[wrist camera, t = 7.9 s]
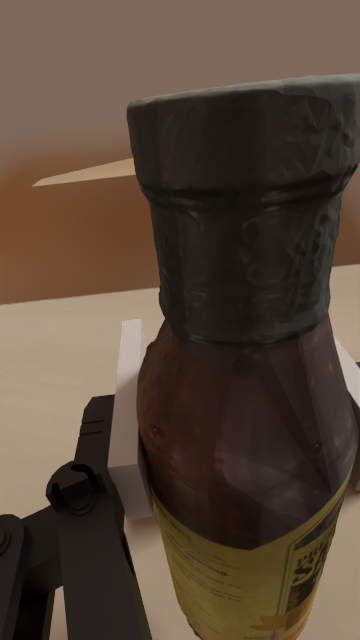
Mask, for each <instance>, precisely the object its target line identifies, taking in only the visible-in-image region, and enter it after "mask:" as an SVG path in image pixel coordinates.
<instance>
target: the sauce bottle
mask: <svg viewBox="0 0 360 640" xmlns="http://www.w3.org/2000/svg"><path fill="white" fill-rule="evenodd" d="M127 122H128V127H129V135H130V143H131V150H132V154H133V158H134V165H135V172H136V177H137V180H138V182H139V185H140V188H141V191H142V193H143V194H144V195H145V197H146V198H147V200H148V202H149V205H150V210H151V219H152V225H153V232H154V242H155V247H156V251H157V260H158V266H159V275H160V283H161V285H160V292H159V304H160V307H161V310H162V312H163V315H164V317H165V320H164V322H163V324H162V326H161V328H160V330H159V333H158V335H157V338H156V339H155V341H153V342H151V343H150V344H149V345H148V347H147V348H146V354H145V357H144V359H143V363H142V365H141V368H140V371H139V374H138V381H137V397H136V411H137V420H138V425H139V430H140V435H141V439H142V441H143V446H144V451H145V454H146V458H147V463H148V481H149V485H150V489H151V493H152V499H153V503H154V507H155V511H156V515H157V519H158V523H159V528H160V532H161V536H162V540H163V544H164V548H165V552H166V556H167V560H168V565H169V569H170V573H171V577H172V580H173V584H174V589H175V593H176V596H177V600H178V603H179V605H180V607H181V610H182V611H183V613H184V615H185V616H186V618H187V621H188V623H189V625H190V626H191V628H192V629H193V631H194V633H195V635H196V636H198V637H199V638H200V639H201V640H296V638H297V637H298V636H299V634H300V633H301V632H302V630H303V628H304V626H305V624H306V622H307V620H308V617H309V614H310V611H311V608H312V604H313V601H314V598H315V594H316V591H317V587H318V584H319V580H320V577H321V575H322V572H323V567H324V564H325V560H326V557H327V554H328V552H329V548H330V546H331V542H332V539H333V536H334V534H335V527H336V523H337V519H338V516H339V512H340V509H341V506H342V503H343V499H344V494H345V491H346V489H347V487H348V484H349V479H350V474H351V470H352V467H353V463H354V460H355V455H356V451H357V446H358V426H357V422H356V418H355V415H354V411H353V408H352V404H351V400H350V397H349V393H348V390H347V386H346V382H345V378H344V375H343V371H342V367H341V364H340V360H339V356H338V353H337V349H336V345H335V341H334V336H333V332H332V327H331V323H330V318H329V313H328V309H329V304H330V298H331V297H330V287H329V279H330V273H331V268H332V261H333V253H334V247H335V242H336V239H337V236H338V230H339V222H340V209H341V196H342V193H343V191H344V189H345V187H346V185H347V184H348V182H349V180H350V179H351V177H352V175H353V174H354V172H355V170H356V169H357V167H358V164H359V162H360V73H351V74H344V75H326V76H313V75H310V76H307V77H291V78H287V79H282V80H271V81H263V82H255V83H244V84H236V85H230V86H225V87H215V88H205V89H198V90H189V91H186V92H182V93H171V94H167V95H158V96H153V97H149V98H142V99H139V100H135V101H132V102H131V103H129V105H128V107H127Z"/></svg>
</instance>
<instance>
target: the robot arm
mask: <svg viewBox="0 0 360 640" xmlns="http://www.w3.org/2000/svg"><path fill="white" fill-rule="evenodd" d="M333 336H334V335H333ZM334 341H335V345H336V349H337V353H338V356H339V360H340V364H341V367H342V371H343V375H344V378H345V382H346V386H347V390H348V393H349V397H350V400H351V404H352V408H353V411H354V415H355V418H356V422H357V426H358V446H357V451H356V455H355V460H354V463H353V467H352V470H351V474H350V481H351V483H352V485H353V487H354V489H355V490H359V489H360V362H356V363H355V362H354V361H353V359H352V358H351V357H350V356H349V354H348V353H347V352H346V350H345V349H344V348H343V346H342V345H341V344H340V343H339V341H338V340H337V339H336V337H335V336H334ZM146 348H147V346H146V341H145V336H144V331H143V326H142V321H141V319H136V320H128V321H123V325H122V334H121V344H120V353H119V363H118V372H117V381H116V391H115V394H113V395H105V396H98V397H92V399H91V400H90V402H89V403H88V405H87V406H86V408H85V409H84V413H83V418H82V425H81V428H80V433H79V434H80V436H79V438H78V443H77V448H76V453H75V458H74V461H70V462H68V463H66V464H65V465H63V466H61V467H60V468H59V469H58V470H57V471H56V472H55V473H54V474H53V475H52V477H51V479H50V480H49V482H48V484H47V488H46V497H47V499H48V500H49V502H50V504H51V505H49V506H48V507H46V508H44V509H42V510H40V511H38V512H36V513H34V514H31V515H29V516H27V517H25V518H23V519H20V518H18V517H17V516H15V515H13V514H3V515H0V640H49V636H50V628H51V620H52V612H53V605H54V597H55V589H57V588H59V587H61V586H63V591H64V601H65V612H66V622H67V632H68V640H152V637H151V633H150V629H149V625H148V621H147V617H146V613H145V609H144V605H143V601H142V597H141V593H140V590H139V586H138V582H137V578H136V574H135V570H134V566H133V562H132V558H131V554H130V550H129V546H128V542H127V538H126V535H125V533H124V514H125V516H126V518H127V520H135V519H142V518H150V517H153V504H152V493H151V489H150V485H149V481H148V463H147V458H146V454H145V451H144V446H143V441H142V439H141V435H140V430H139V425H138V420H137V411H136V397H137V381H138V374H139V371H140V368H141V365H142V363H143V359H144V357H145V354H146Z"/></svg>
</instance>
